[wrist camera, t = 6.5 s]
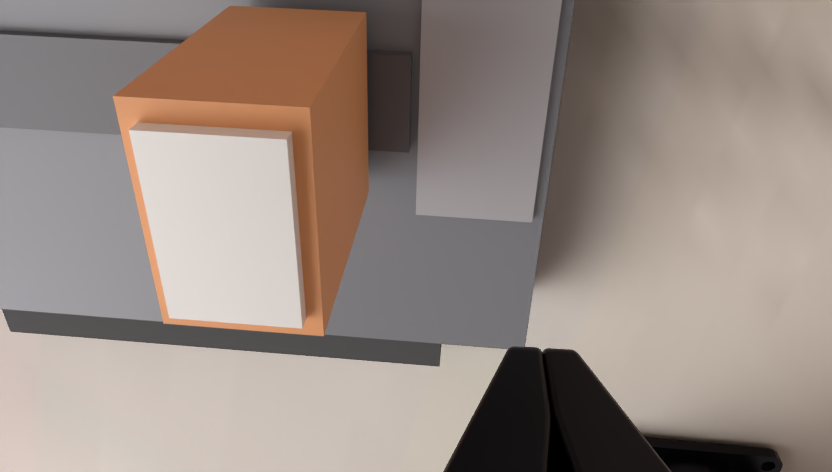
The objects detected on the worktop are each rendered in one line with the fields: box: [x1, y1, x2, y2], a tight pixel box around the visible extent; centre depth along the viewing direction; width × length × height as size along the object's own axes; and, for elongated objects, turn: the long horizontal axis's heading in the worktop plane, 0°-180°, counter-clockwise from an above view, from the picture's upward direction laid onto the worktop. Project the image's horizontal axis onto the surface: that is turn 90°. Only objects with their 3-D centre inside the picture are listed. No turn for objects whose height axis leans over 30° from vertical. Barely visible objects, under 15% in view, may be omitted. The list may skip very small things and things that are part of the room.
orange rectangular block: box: [113, 6, 369, 336], centre depth 14 cm, size 3×4×6 cm
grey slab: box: [2, 309, 441, 366], centre depth 19 cm, size 16×20×2 cm
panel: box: [0, 0, 575, 349], centre depth 18 cm, size 20×15×3 cm
